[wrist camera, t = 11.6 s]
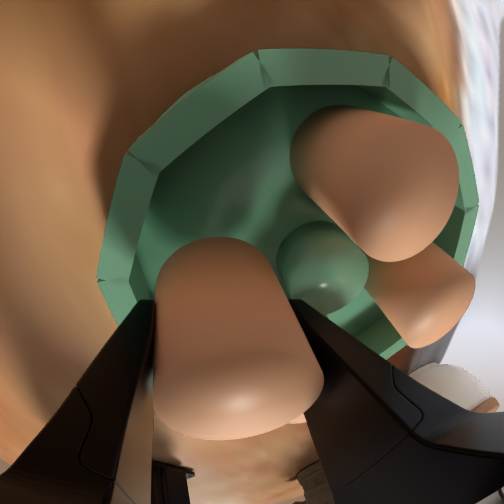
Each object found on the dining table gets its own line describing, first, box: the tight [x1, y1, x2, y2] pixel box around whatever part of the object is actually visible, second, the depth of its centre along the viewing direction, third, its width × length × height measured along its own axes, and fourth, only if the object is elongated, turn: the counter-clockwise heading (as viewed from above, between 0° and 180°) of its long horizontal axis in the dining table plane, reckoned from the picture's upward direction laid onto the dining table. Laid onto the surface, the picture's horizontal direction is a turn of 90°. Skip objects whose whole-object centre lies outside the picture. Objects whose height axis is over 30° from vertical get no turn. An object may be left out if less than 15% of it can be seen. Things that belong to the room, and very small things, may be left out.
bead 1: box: [153, 237, 324, 440], centre depth 7 cm, size 4×4×4 cm
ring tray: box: [97, 48, 479, 360], centre depth 11 cm, size 15×15×3 cm
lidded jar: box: [409, 362, 499, 413], centre depth 19 cm, size 11×11×9 cm
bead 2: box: [290, 105, 459, 262], centre depth 8 cm, size 4×4×4 cm
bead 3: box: [361, 242, 475, 348], centre depth 11 cm, size 4×4×4 cm
